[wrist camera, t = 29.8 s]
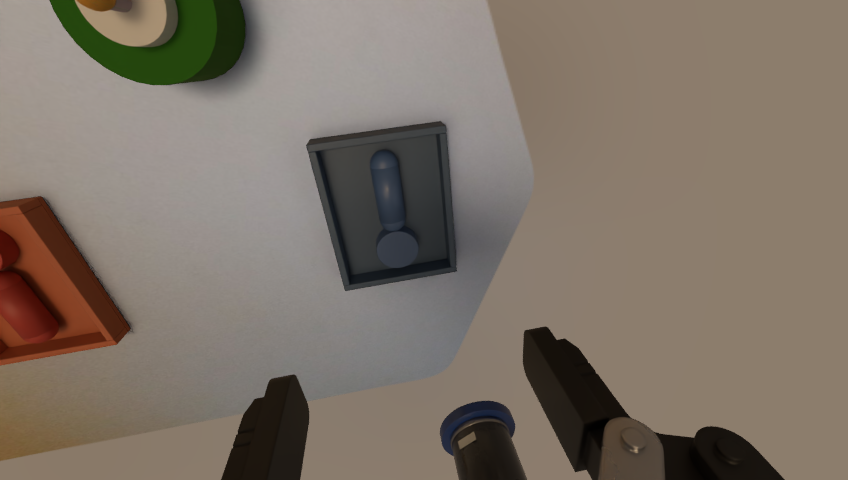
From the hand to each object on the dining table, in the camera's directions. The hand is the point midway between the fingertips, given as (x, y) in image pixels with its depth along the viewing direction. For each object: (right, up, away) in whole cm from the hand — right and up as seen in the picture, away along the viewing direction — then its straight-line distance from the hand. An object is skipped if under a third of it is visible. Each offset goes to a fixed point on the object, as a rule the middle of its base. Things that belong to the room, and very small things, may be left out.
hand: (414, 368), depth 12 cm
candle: (-17, +20, +12) cm, 29 cm away
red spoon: (-35, +1, +18) cm, 40 cm away
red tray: (-35, +1, +19) cm, 40 cm away
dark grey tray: (-3, +8, +21) cm, 22 cm away
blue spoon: (-3, +7, +20) cm, 22 cm away
